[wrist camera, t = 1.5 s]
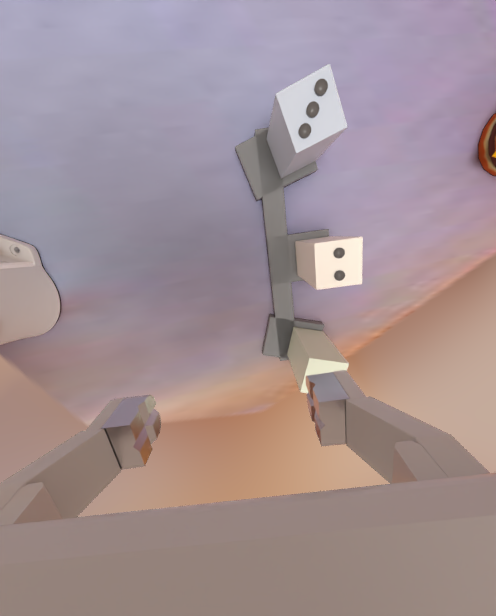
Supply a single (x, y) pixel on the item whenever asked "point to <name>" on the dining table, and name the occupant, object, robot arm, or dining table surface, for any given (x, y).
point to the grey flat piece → (277, 239)
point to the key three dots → (305, 121)
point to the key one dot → (313, 355)
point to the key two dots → (330, 261)
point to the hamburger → (488, 146)
